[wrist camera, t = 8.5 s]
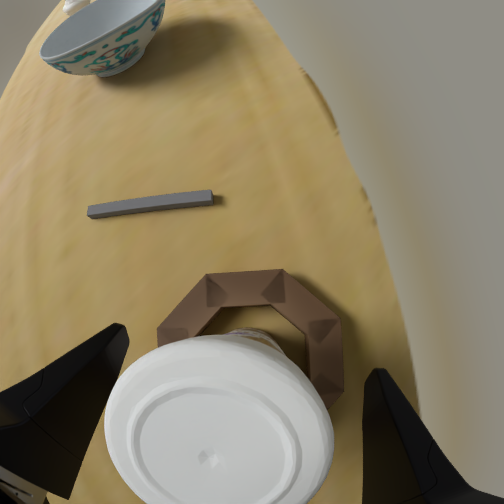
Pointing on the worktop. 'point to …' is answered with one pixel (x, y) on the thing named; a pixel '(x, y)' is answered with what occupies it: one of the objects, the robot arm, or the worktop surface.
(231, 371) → the sprinkles bottle
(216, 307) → the walnut ring
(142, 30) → the chinaware
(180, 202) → the grey rectangular bar
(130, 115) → the worktop surface
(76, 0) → the white owl figurine
